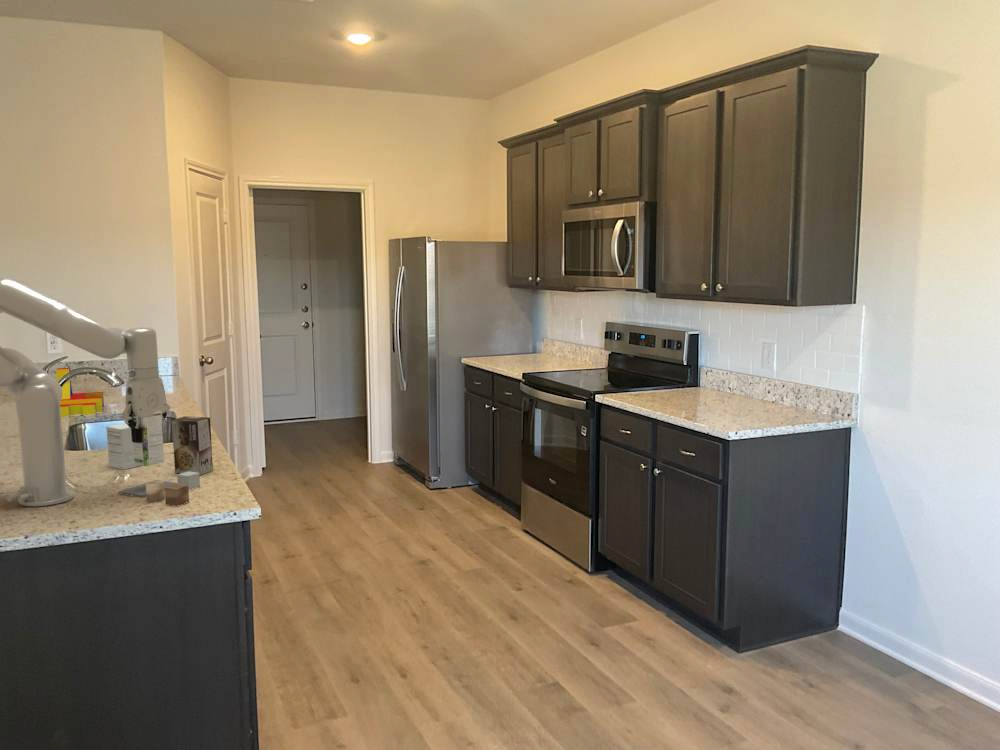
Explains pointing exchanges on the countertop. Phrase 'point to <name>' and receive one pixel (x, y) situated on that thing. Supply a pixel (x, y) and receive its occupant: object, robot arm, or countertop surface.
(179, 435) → the coffee box
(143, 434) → the syrup box
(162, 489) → the birch cylinder
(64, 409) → the building blocks toy
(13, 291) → the robot arm
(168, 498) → the walnut block
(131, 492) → the slate mat
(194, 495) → the countertop surface
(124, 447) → the supplement box
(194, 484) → the grey block
